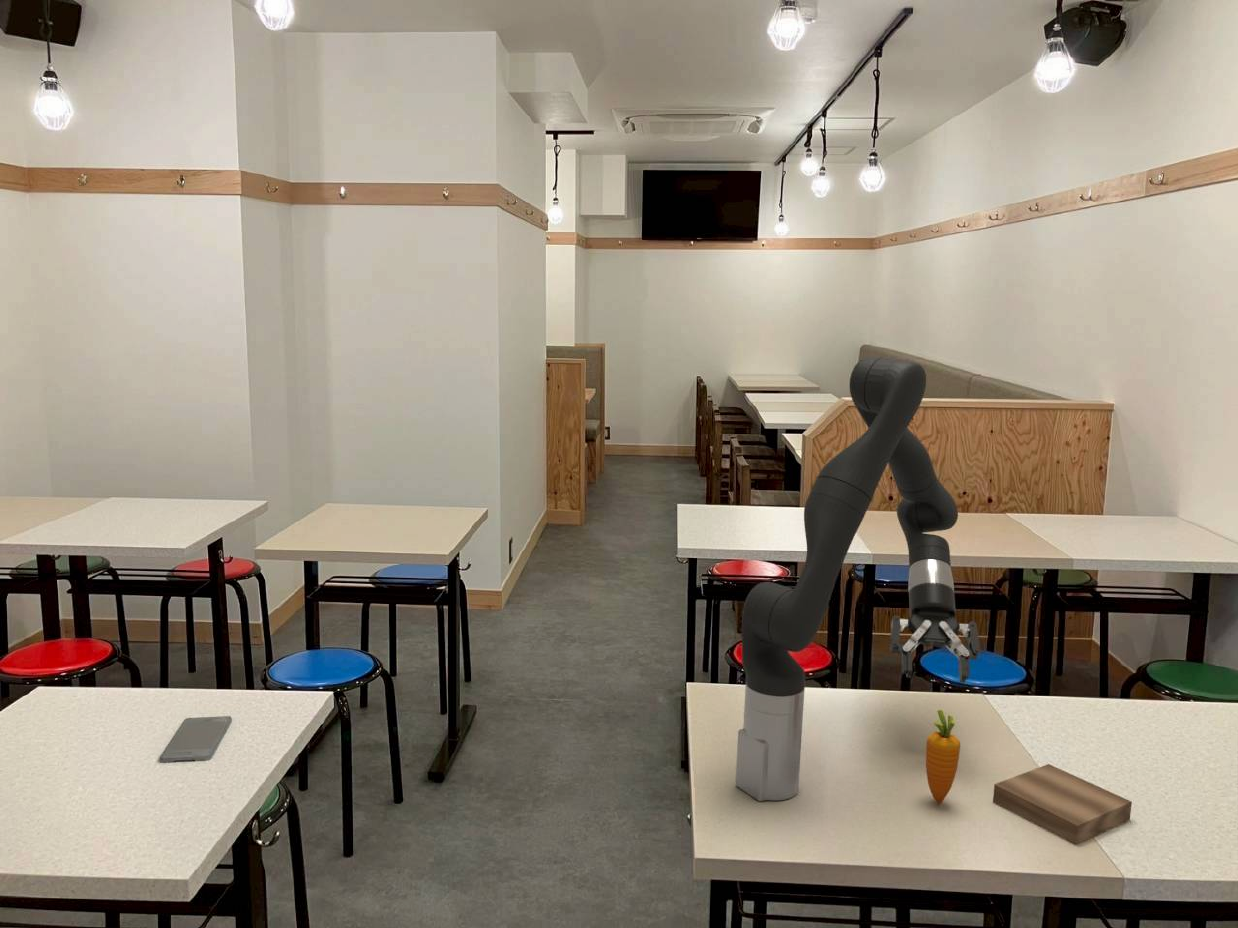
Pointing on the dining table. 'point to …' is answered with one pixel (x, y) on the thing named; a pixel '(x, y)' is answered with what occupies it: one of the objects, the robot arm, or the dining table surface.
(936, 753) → the carrot
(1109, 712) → the dining table surface
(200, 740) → the phone
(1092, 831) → the walnut plinth
